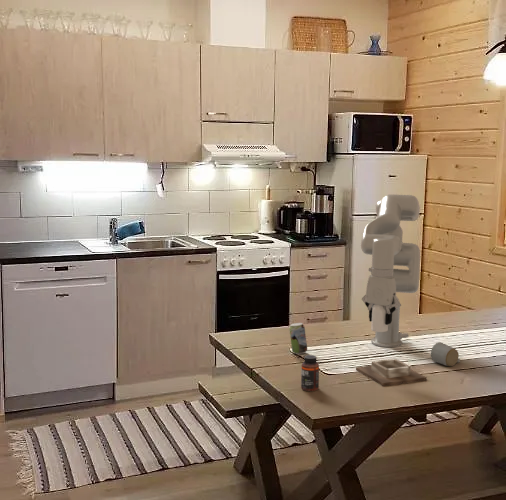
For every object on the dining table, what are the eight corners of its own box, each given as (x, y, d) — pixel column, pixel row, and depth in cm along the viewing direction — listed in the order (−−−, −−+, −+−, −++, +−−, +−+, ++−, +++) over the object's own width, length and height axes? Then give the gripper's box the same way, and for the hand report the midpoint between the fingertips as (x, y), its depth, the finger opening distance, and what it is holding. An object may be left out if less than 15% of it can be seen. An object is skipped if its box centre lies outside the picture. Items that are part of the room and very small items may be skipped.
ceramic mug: (446, 368, 258) (447, 348, 257) (429, 362, 265) (430, 343, 264) (465, 364, 264) (466, 345, 263) (448, 358, 271) (449, 339, 270)
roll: (385, 295, 251) (392, 299, 245) (384, 327, 253) (390, 331, 247) (370, 296, 249) (376, 299, 244) (368, 328, 251) (375, 332, 246)
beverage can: (306, 356, 271) (307, 326, 269) (287, 354, 273) (288, 325, 271) (308, 351, 277) (309, 322, 276) (290, 350, 279) (290, 321, 277)
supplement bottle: (317, 385, 238) (318, 354, 236) (319, 392, 232) (320, 359, 230) (300, 385, 238) (300, 353, 236) (301, 392, 232) (302, 359, 230)
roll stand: (397, 364, 262) (397, 354, 262) (426, 379, 246) (426, 369, 245) (355, 370, 255) (356, 359, 255) (382, 385, 239) (383, 374, 238)
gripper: (355, 271, 249) (353, 320, 251) (399, 277, 238) (396, 328, 241) (366, 268, 254) (364, 316, 257) (409, 274, 244) (406, 324, 246)
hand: (380, 321), depth 249 cm, fingers closed on roll, 5 cm apart
